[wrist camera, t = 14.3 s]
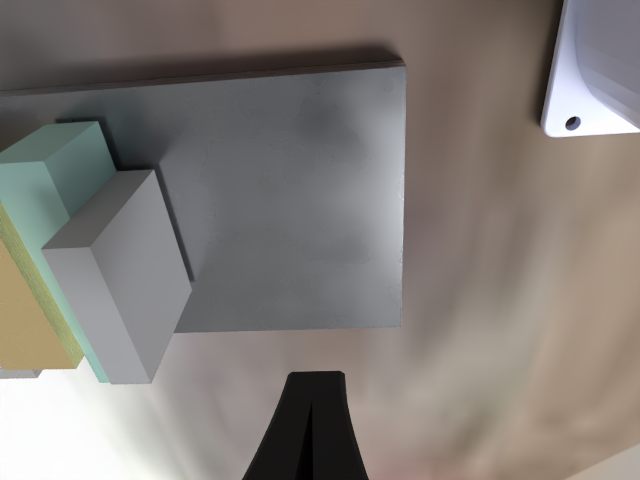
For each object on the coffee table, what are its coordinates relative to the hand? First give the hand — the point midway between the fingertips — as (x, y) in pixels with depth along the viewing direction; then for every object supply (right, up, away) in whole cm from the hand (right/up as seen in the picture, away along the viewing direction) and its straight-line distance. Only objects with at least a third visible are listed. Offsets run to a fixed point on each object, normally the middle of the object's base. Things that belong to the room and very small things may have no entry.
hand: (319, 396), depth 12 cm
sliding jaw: (-8, +4, +7) cm, 12 cm away
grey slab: (-6, +5, +8) cm, 12 cm away
